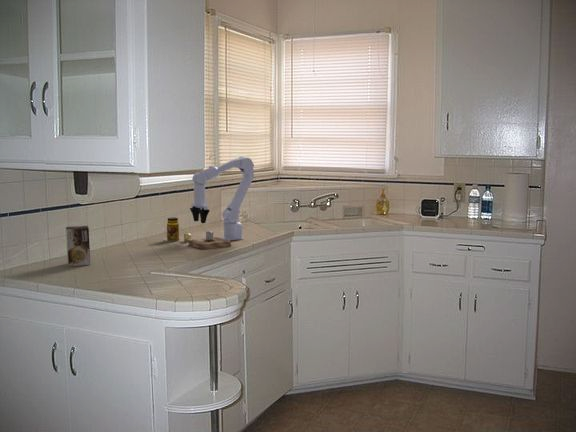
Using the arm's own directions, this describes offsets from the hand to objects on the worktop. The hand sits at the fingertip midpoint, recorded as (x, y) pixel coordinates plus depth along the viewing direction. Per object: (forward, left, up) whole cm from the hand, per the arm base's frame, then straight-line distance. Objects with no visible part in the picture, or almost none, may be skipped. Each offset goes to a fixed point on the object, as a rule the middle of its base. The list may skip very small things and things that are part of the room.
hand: (199, 222), depth 333 cm
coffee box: (+70, +22, -10) cm, 74 cm away
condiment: (+11, -9, -10) cm, 17 cm away
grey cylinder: (+2, +14, -10) cm, 17 cm away
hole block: (+2, +14, -10) cm, 17 cm away
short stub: (+6, -2, -10) cm, 12 cm away
